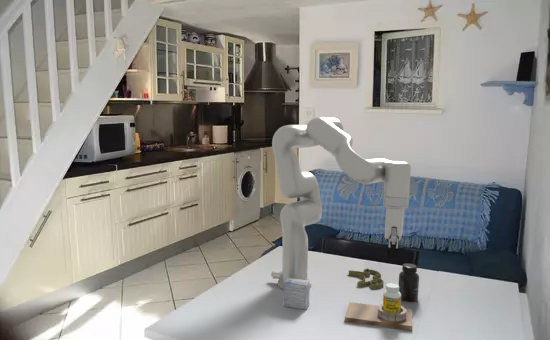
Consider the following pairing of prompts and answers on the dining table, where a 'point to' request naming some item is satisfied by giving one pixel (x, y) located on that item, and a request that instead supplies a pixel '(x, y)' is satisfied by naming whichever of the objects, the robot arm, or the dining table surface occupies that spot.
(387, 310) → the supplement bottle
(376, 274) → the cookie cutter
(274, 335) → the dining table surface
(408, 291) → the supplement bottle
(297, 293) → the medicine box
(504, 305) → the dining table surface
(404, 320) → the collar board
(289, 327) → the dining table surface
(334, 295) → the dining table surface
